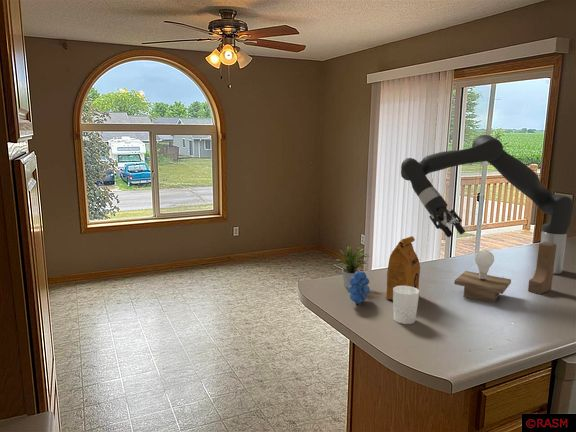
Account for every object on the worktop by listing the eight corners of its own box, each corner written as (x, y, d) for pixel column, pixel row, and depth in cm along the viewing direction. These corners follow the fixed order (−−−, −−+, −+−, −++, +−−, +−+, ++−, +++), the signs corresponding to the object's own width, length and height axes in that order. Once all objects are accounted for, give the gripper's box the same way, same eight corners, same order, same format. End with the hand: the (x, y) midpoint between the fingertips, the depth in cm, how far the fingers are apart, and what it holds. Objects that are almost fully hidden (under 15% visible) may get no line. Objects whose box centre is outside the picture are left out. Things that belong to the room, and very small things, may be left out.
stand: (464, 285, 168) (465, 270, 167) (509, 294, 159) (511, 279, 158) (453, 295, 157) (454, 280, 156) (501, 306, 148) (502, 289, 147)
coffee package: (423, 296, 157) (427, 237, 153) (407, 306, 147) (411, 243, 143) (398, 289, 163) (401, 233, 159) (381, 298, 154) (384, 239, 150)
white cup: (389, 322, 134) (391, 292, 132) (393, 313, 141) (395, 284, 140) (415, 327, 131) (417, 295, 130) (418, 317, 139) (420, 287, 137)
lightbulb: (469, 276, 160) (472, 248, 158) (486, 276, 160) (488, 247, 158) (478, 282, 154) (481, 252, 152) (495, 282, 154) (498, 252, 152)
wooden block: (539, 294, 159) (545, 247, 156) (527, 291, 163) (532, 244, 159) (551, 289, 164) (557, 244, 161) (539, 286, 168) (544, 241, 165)
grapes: (360, 311, 142) (361, 277, 140) (343, 306, 147) (344, 272, 144) (377, 301, 151) (379, 269, 149) (361, 297, 155) (362, 265, 153)
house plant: (360, 296, 156) (362, 252, 153) (326, 289, 163) (327, 247, 160) (374, 285, 168) (376, 244, 165) (342, 278, 175) (343, 239, 172)
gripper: (428, 196, 163) (453, 231, 156) (449, 193, 172) (474, 226, 165) (415, 208, 168) (439, 242, 161) (436, 205, 177) (460, 237, 170)
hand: (457, 234), depth 163 cm, fingers open, 8 cm apart
